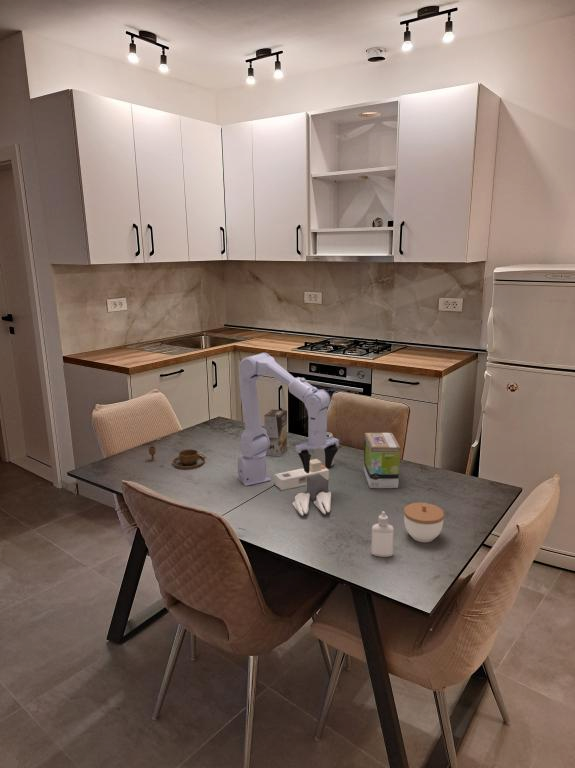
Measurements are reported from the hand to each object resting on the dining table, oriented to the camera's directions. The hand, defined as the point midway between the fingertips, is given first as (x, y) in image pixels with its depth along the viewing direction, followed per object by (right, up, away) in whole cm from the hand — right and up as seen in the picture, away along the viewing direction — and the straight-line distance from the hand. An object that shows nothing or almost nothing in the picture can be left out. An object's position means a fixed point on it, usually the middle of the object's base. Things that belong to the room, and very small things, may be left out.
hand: (317, 469), depth 176 cm
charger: (-1, -9, +3) cm, 9 cm away
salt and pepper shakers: (-2, -12, -6) cm, 14 cm away
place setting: (-49, -3, +34) cm, 60 cm away
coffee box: (-14, 0, +41) cm, 43 cm away
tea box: (+23, -6, +15) cm, 28 cm away
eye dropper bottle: (+15, -17, -30) cm, 38 cm away
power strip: (-5, -6, +14) cm, 16 cm away
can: (+4, -3, +28) cm, 28 cm away
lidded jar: (+28, -15, -22) cm, 39 cm away
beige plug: (0, -2, +15) cm, 15 cm away
